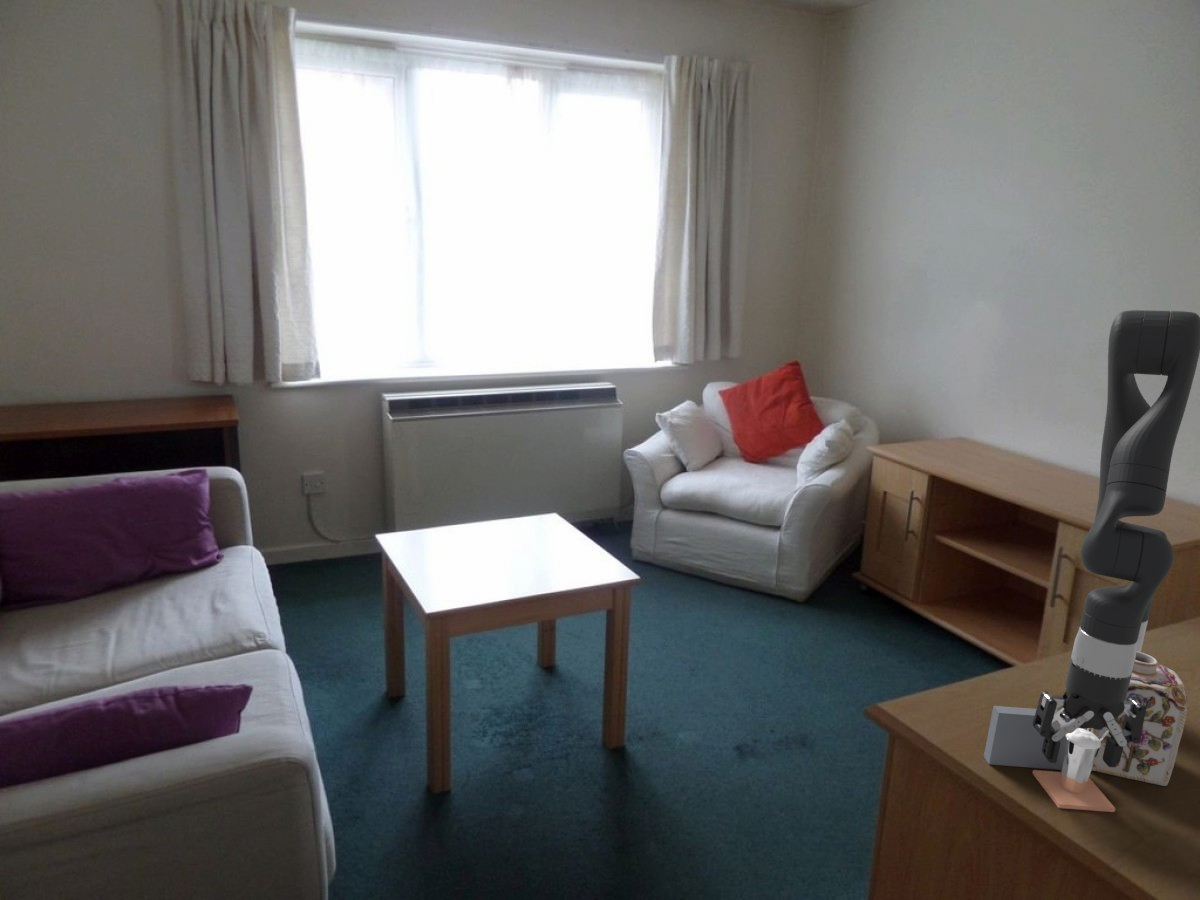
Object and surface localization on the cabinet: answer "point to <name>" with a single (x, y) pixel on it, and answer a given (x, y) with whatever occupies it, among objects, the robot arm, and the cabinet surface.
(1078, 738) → the milkshake
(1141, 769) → the decorative jar
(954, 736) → the cabinet surface
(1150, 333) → the robot arm
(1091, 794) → the mat
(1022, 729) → the screen
